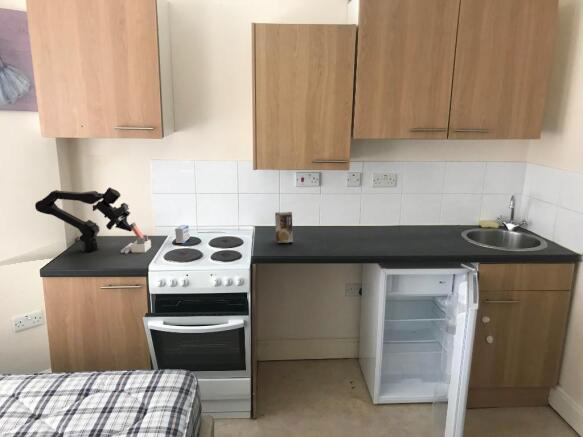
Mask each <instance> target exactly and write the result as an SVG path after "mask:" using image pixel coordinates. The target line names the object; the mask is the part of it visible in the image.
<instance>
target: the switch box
mask: <svg viewBox="0 0 583 437" xmlns="http://www.w3.org/2000/svg"><path fill="white" fill-rule="evenodd" d="M142 235H143V236H144V238H145V239H144V238H138V237H136V240H135V241H134V242H132V243H133V244H131V253H146V252H147V251H149V249H151V248H152V241H151V239H149V235H148V234H142Z"/></svg>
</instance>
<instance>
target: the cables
mask: <svg viewBox="0 0 583 437" xmlns="http://www.w3.org/2000/svg"><path fill="white" fill-rule="evenodd" d="M133 243H134V242H130V243H128V245H126V246H125V247H124V248H122V249H121V250H120V253H121V254H123V253H124V254H126V255H127V254H128V253H129V252H132V250H131V244H133Z"/></svg>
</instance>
